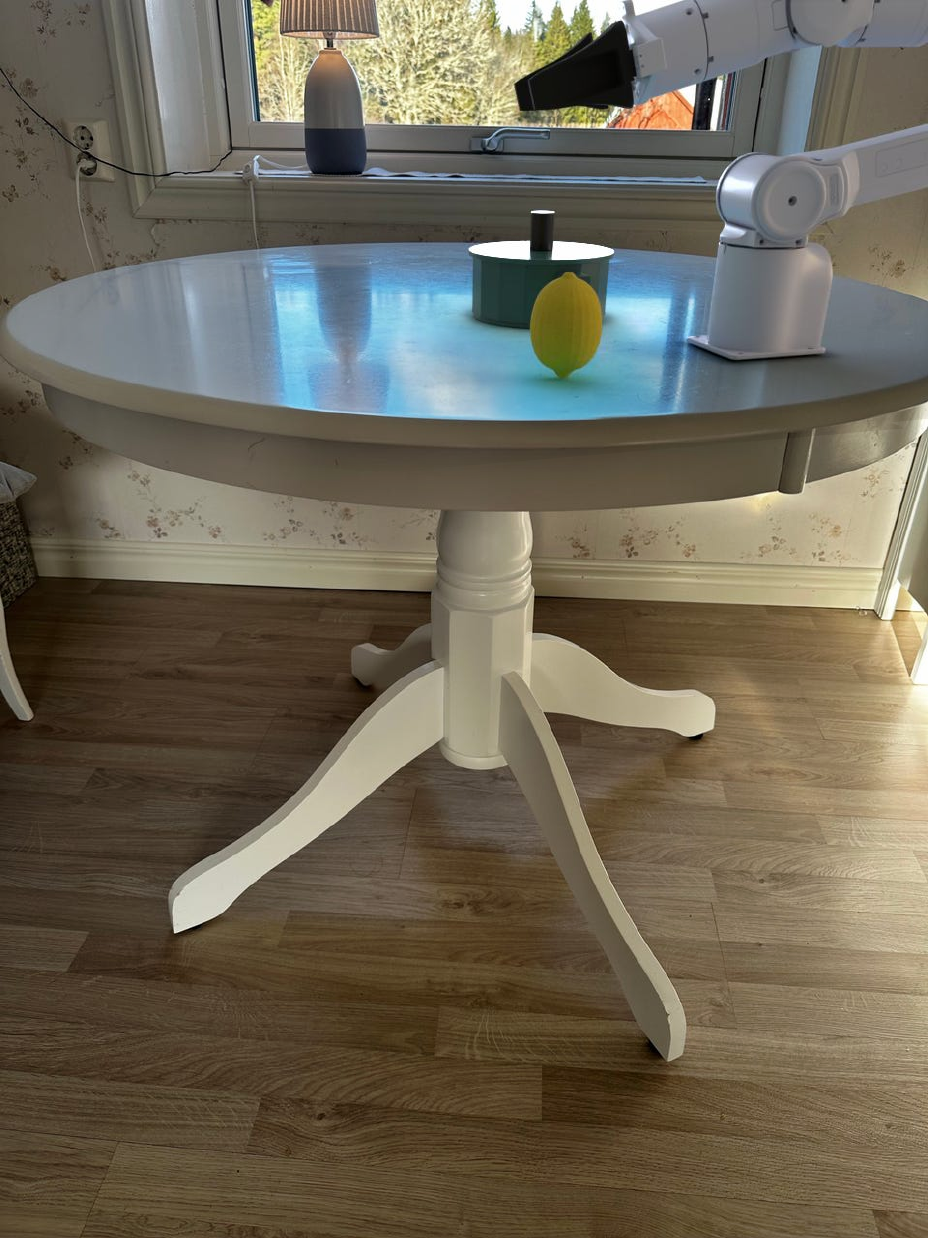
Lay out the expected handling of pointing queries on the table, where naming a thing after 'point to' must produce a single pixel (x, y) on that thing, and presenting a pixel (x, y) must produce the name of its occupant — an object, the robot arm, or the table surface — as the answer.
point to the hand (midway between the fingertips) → (523, 96)
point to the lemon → (566, 324)
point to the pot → (524, 288)
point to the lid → (541, 247)
